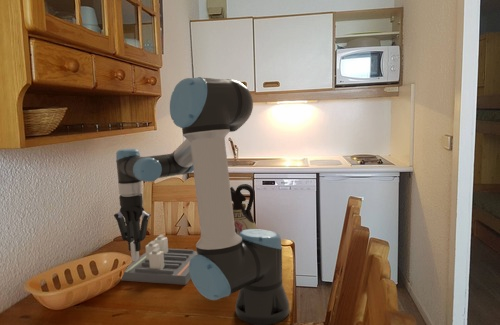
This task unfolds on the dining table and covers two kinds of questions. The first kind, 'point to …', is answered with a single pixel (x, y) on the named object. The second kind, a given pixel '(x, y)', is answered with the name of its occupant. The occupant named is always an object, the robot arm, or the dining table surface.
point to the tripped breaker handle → (156, 259)
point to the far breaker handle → (162, 243)
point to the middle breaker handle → (151, 248)
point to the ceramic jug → (242, 209)
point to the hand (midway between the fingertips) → (135, 259)
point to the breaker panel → (170, 274)
